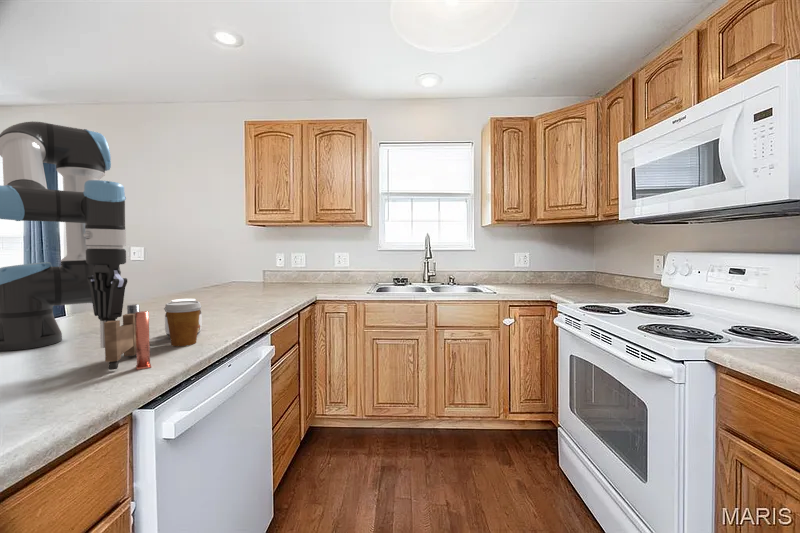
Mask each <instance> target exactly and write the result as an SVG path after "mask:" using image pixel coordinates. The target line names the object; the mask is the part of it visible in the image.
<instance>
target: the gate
mask: <svg viewBox="0 0 800 533" xmlns="http://www.w3.org/2000/svg"><path fill="white" fill-rule="evenodd" d="M120 321H121V320H116V321H107V322H105V323H104V332H105V348H104V350H105V351H104V354H105V357H104V359H105V363H108V370H110V371H111V370H118V368H119V361H120V360H121V359H122V355H123V357H129V356H130V357H134V356H133V355H135V354H136V324H135V313H134V314H127V313H124V314H122V325H121V322H120Z"/></svg>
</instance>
